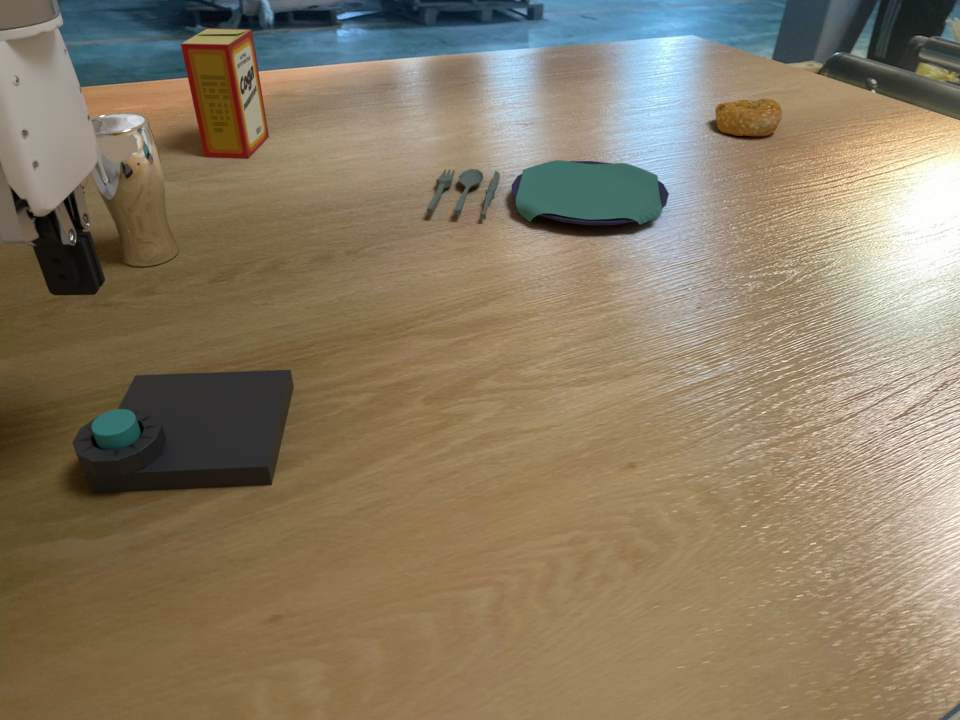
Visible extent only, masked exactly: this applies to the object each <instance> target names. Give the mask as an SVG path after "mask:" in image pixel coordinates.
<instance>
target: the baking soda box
mask: <svg viewBox="0 0 960 720" xmlns="http://www.w3.org/2000/svg"><path fill="white" fill-rule="evenodd" d="M255 47H256V46H255V42H254V35H253V29H249V28H209V27H208V28H206V29H204V30H201V32H199V33H197V34H195V35H193V36H192V37H190V38H188V39H187V40H184V41H183V42H182V43H180V48H181V52H182V53H181V54H182V58H183V62H184V66H185V67H184V68H185V71H186V75H187V80H188V84H189V89H190V94H191V99H192V103H193V108H194V113H195V118H196V122H197V127H198V131H199V137H200V142H201V145H202V150H203V155H204V157H205V158H220V159H221V158H222V159H223V158H224V159H225V158H226V159H250V158H251V156H252V155H253V154H254V153H255V152H256V151H258V149H259V148H260V147H261V146H262V145H263V144H264V143H265V142H266V140H268V138H269V137H270V134H269V128H268V121H267V115H266V109H265V104H264V103H265V102H264V97H263V90H262V85H261V78H260V74H259V67H258V59H257V55H256V48H255Z"/></svg>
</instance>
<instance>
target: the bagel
mask: <svg viewBox="0 0 960 720" xmlns="http://www.w3.org/2000/svg"><path fill="white" fill-rule="evenodd" d="M714 112H715V120H716V121H715V123H716V127H717V129H718V130H719V131H720V132H721V133H724V134H727V135H733V136H736V137H737V136H739V137H743V136H744V137H767V136H771V135H772V134H773V133H774V132H775V131H776V130H777V128H778V126H779V125H780V123H781V120H782V118H783V115H782V113H783V110H782V106H781V105H780V103H779V102H777V101H776V100H774V99H771V98H759V99H757V100H748V99H740V100H739V99H738V100H736V101H730V102H722V103H719V104H718V105H717V106H716V107H715V109H714Z"/></svg>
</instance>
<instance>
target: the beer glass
mask: <svg viewBox="0 0 960 720" xmlns="http://www.w3.org/2000/svg"><path fill="white" fill-rule="evenodd" d="M90 119H91V122H92V126H93V130H94V134H95V138H96V142H97V147H98V161H97V164H96V166H95V167H94V169H93V170H92V171H91V172H90V174H91V177H92V180H93V183H94V185H95V187H96V189H97V192H98V194H99V196H100V197H101V199H102V201H103V203H104V205H105V207H106V209H107V211H108V212H109V214H110V217H111V219H112V220H113V222H114V225H115V228H116V231H117V235H118V239H119V250H120V257H121V260H122V262H123V263H124V264H126V265H128V266H131V267H137V268H145V267H153V266H157V265H162V264H165V263H167V262H169V261H171V260H173V259H174V258H175V257H176V256H177V255H178V253H179V245H178V243H177V241H176V239H175V236H174V235H173V233H172V230H171V228H170V225H169V220H168V216H167V207H166V190H165V189H166V188H165V178H164V170H163V165H162V161H161V156H160V153H159V149H158V145H157V143H156V140H155V137H154V134H153V131H152V128H151V125H150V122H149V118H148V116H146V114H145V115H144V114H142V113H137V112H113V113H105V114H100V115H98V116H93V117H90Z"/></svg>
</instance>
